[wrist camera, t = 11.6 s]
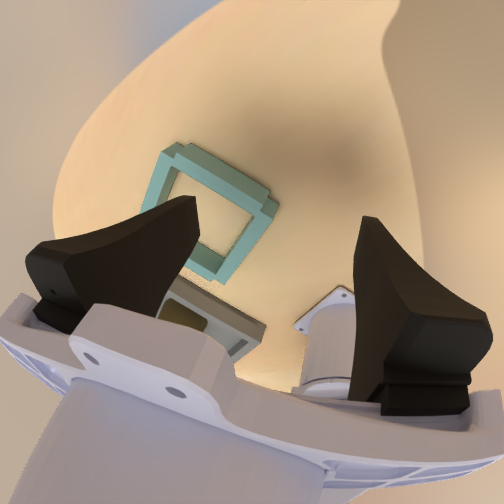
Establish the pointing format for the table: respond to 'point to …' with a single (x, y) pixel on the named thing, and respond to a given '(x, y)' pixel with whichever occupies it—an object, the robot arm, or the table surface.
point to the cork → (182, 315)
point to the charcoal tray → (218, 318)
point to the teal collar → (223, 183)
